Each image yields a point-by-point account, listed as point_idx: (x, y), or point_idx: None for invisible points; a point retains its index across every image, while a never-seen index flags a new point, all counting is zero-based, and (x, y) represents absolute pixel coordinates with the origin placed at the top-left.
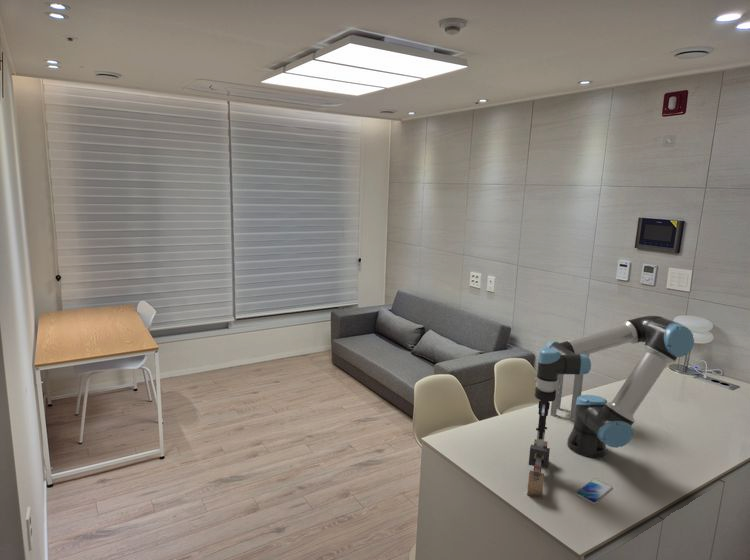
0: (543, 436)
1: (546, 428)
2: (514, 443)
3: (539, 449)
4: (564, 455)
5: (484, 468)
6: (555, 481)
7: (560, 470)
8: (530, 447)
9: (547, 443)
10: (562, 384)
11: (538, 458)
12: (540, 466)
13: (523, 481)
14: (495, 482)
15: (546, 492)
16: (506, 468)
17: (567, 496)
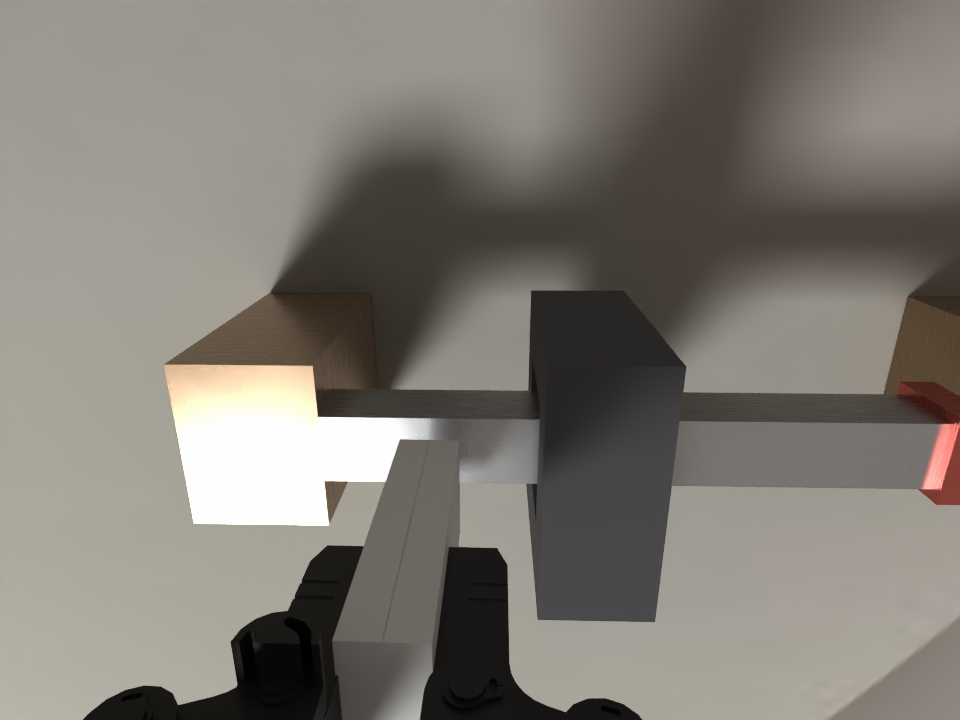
0: (442, 566)
1: (318, 655)
2: (132, 567)
3: (649, 509)
4: (50, 99)
5: (651, 717)
6: (646, 183)
7: (405, 137)
8: (633, 618)
9: (218, 365)
10: None
11: (710, 458)
12: (918, 426)
13: None
14: (823, 637)
15: (872, 261)
16: None
17: (897, 50)
